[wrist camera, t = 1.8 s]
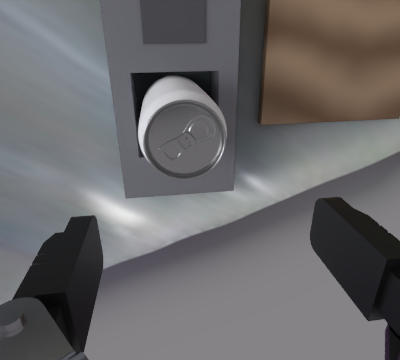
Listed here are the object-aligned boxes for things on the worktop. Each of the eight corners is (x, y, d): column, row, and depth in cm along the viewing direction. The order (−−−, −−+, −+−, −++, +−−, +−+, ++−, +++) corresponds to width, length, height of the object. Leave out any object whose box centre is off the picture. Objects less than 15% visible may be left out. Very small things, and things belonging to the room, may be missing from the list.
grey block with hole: (94, -96, 24) (81, -127, 19) (232, -91, 25) (248, -119, 21) (128, 181, 34) (124, 202, 29) (225, 175, 35) (235, 193, 31)
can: (217, 113, 32) (249, 150, 21) (168, 149, 33) (176, 202, 22) (180, 60, 29) (196, 71, 18) (129, 100, 30) (115, 133, 19)
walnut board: (270, -60, 26) (274, -63, 25) (436, -55, 28) (445, -59, 27) (258, 122, 33) (261, 124, 32) (392, 116, 35) (398, 118, 34)
